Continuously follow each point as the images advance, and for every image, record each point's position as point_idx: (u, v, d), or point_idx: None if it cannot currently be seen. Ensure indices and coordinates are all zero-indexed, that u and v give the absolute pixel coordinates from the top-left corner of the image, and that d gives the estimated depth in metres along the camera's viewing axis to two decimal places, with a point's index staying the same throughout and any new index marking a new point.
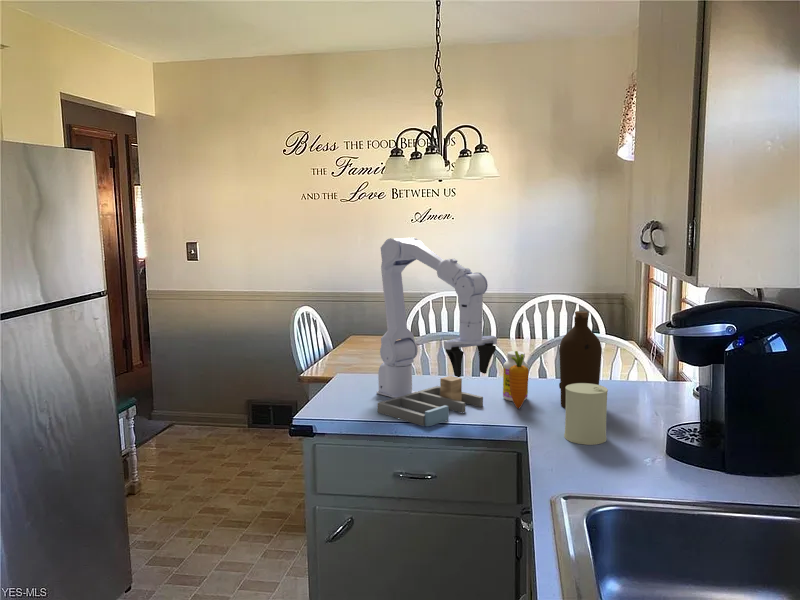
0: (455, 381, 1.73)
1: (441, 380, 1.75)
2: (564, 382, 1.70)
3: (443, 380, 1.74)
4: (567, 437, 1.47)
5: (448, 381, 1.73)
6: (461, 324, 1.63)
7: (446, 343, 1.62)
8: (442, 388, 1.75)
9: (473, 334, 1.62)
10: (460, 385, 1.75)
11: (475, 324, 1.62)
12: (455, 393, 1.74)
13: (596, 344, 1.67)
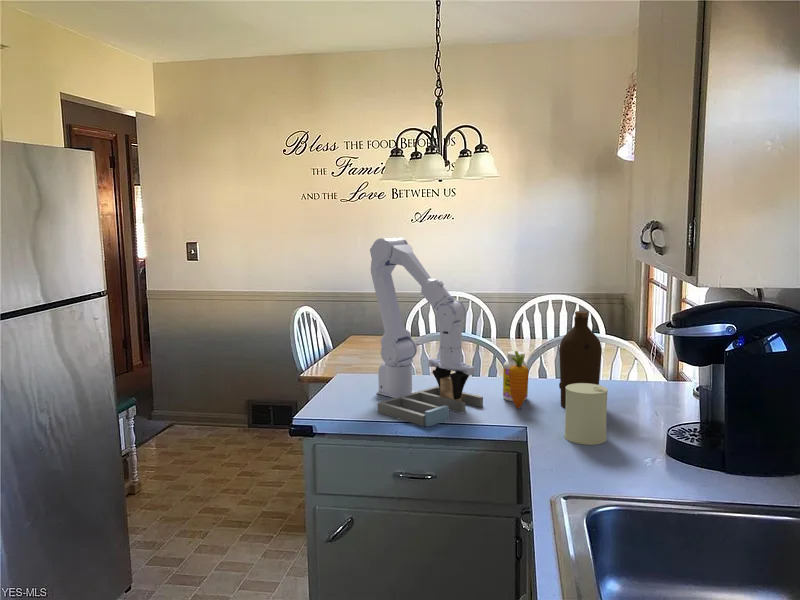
0: None
1: (441, 380, 1.75)
2: (564, 382, 1.70)
3: (443, 380, 1.74)
4: (567, 437, 1.47)
5: (448, 381, 1.73)
6: None
7: None
8: (442, 387, 1.75)
9: (441, 358, 1.73)
10: None
11: (442, 349, 1.72)
12: None
13: (596, 344, 1.67)
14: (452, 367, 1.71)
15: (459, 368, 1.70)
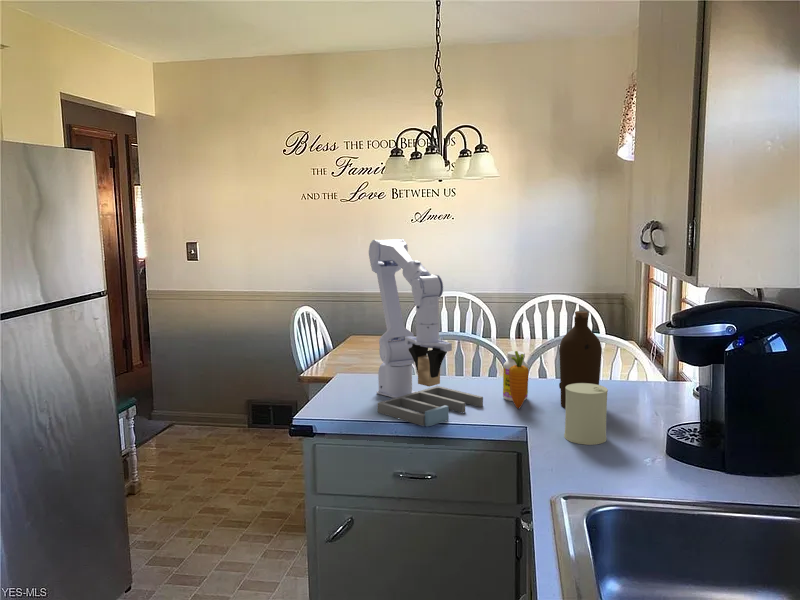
0: None
1: (419, 359, 1.68)
2: (564, 382, 1.70)
3: (421, 358, 1.67)
4: (567, 437, 1.47)
5: (426, 359, 1.66)
6: None
7: None
8: (420, 366, 1.68)
9: (417, 335, 1.66)
10: None
11: (418, 325, 1.65)
12: None
13: (596, 344, 1.67)
14: (428, 344, 1.64)
15: (436, 344, 1.63)
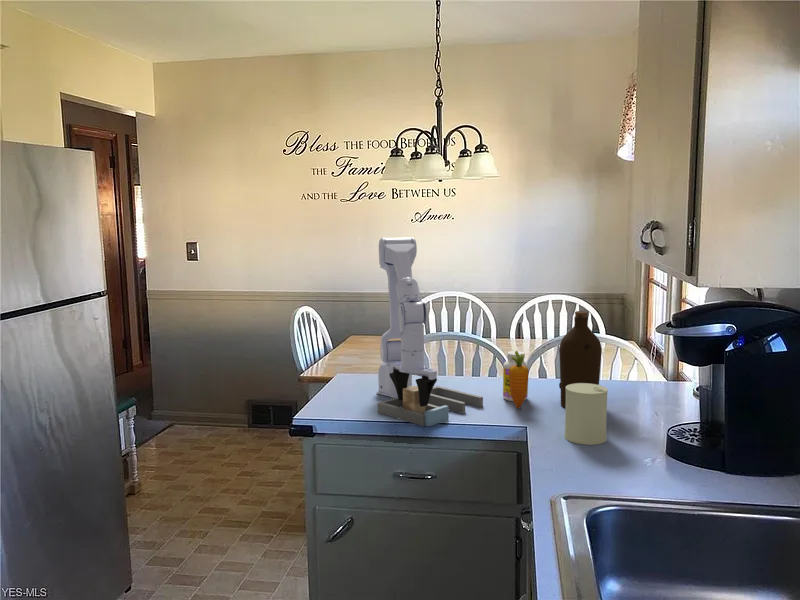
0: (418, 391, 1.64)
1: (403, 390, 1.65)
2: (564, 382, 1.70)
3: (405, 390, 1.64)
4: (567, 437, 1.47)
5: (410, 391, 1.63)
6: None
7: None
8: (405, 398, 1.65)
9: (402, 361, 1.63)
10: None
11: (403, 352, 1.62)
12: (419, 404, 1.64)
13: (596, 344, 1.67)
14: (413, 371, 1.61)
15: (420, 372, 1.60)
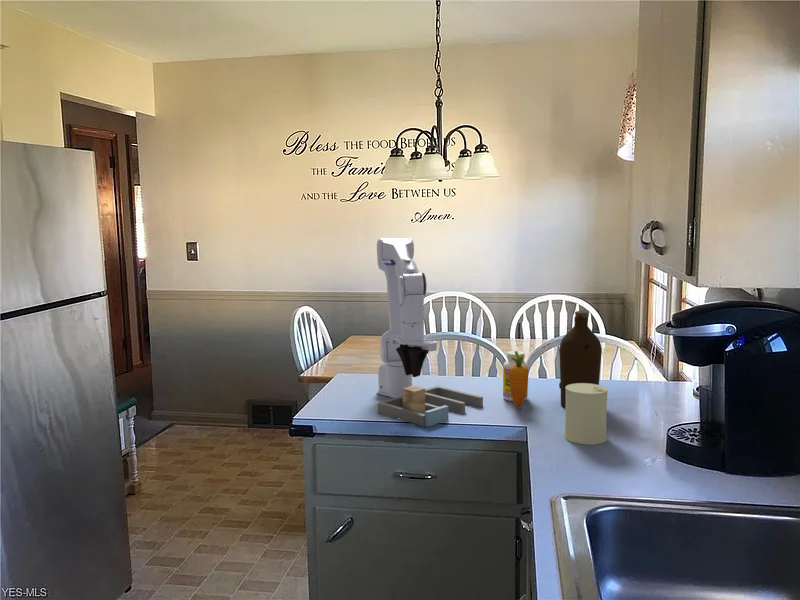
0: (418, 391, 1.64)
1: (403, 390, 1.65)
2: (564, 382, 1.70)
3: (405, 390, 1.64)
4: (567, 437, 1.47)
5: (410, 391, 1.63)
6: None
7: None
8: (405, 398, 1.65)
9: (402, 334, 1.62)
10: (424, 395, 1.65)
11: (403, 324, 1.61)
12: (419, 404, 1.64)
13: (596, 344, 1.67)
14: (413, 343, 1.60)
15: (420, 344, 1.59)
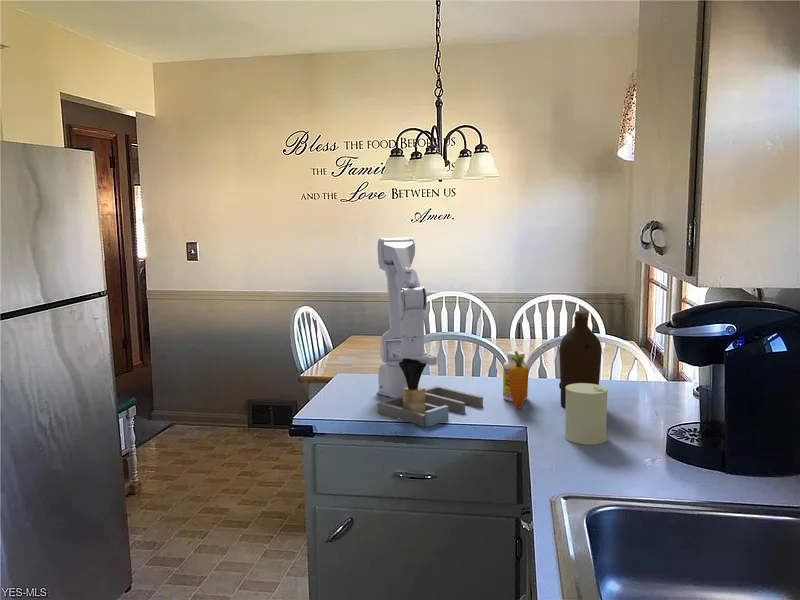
0: (418, 391, 1.63)
1: (403, 390, 1.65)
2: (564, 382, 1.70)
3: (405, 390, 1.64)
4: (567, 437, 1.47)
5: (411, 391, 1.63)
6: None
7: None
8: (405, 398, 1.65)
9: (402, 347, 1.62)
10: (424, 395, 1.65)
11: (403, 338, 1.62)
12: (419, 404, 1.64)
13: (596, 344, 1.67)
14: (413, 357, 1.60)
15: (420, 358, 1.60)
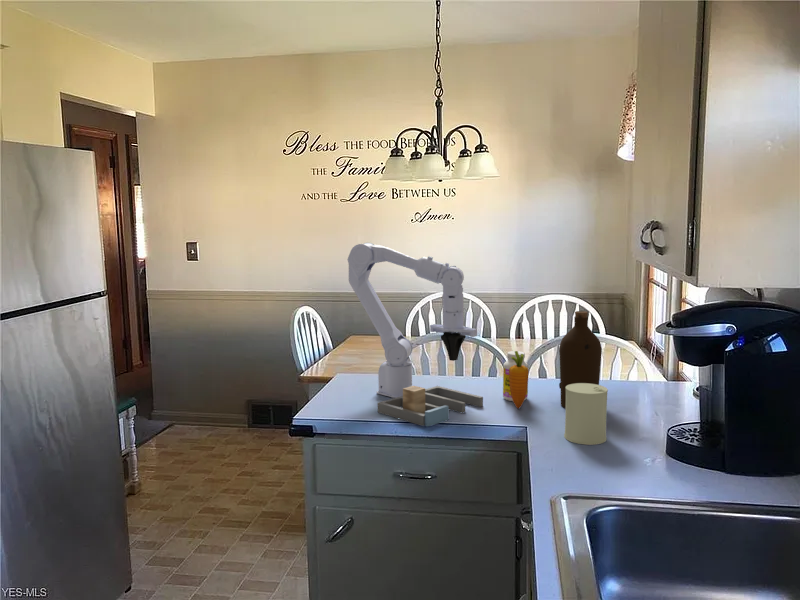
0: (418, 391, 1.64)
1: (403, 390, 1.65)
2: (564, 382, 1.70)
3: (405, 390, 1.65)
4: (567, 437, 1.47)
5: (410, 391, 1.63)
6: None
7: None
8: (405, 398, 1.65)
9: (444, 322, 1.78)
10: (424, 395, 1.65)
11: (445, 313, 1.78)
12: (419, 404, 1.64)
13: (596, 344, 1.67)
14: (455, 330, 1.77)
15: (462, 331, 1.76)
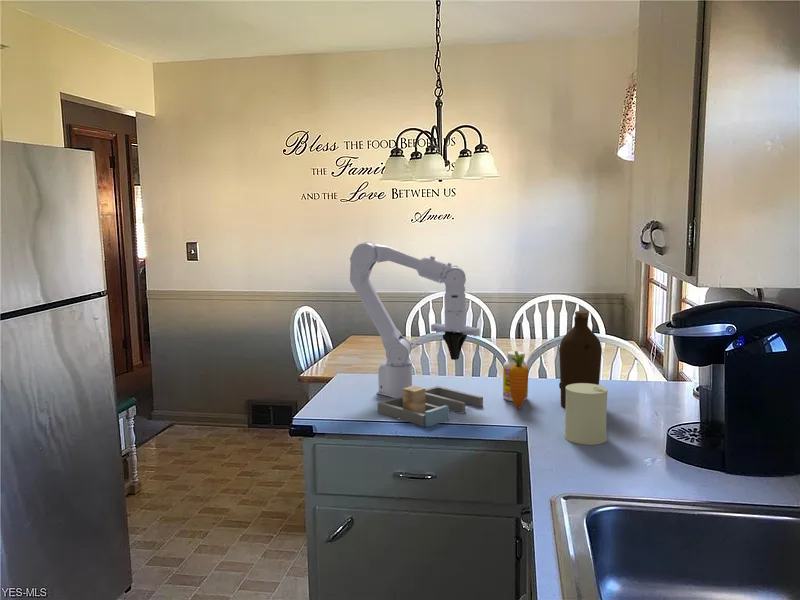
0: (418, 391, 1.64)
1: (403, 390, 1.65)
2: (564, 382, 1.70)
3: (406, 390, 1.64)
4: (567, 437, 1.47)
5: (411, 391, 1.63)
6: None
7: None
8: (405, 398, 1.65)
9: (447, 321, 1.79)
10: (424, 395, 1.65)
11: (448, 312, 1.79)
12: (419, 404, 1.64)
13: (596, 344, 1.67)
14: (458, 329, 1.78)
15: (465, 330, 1.77)
